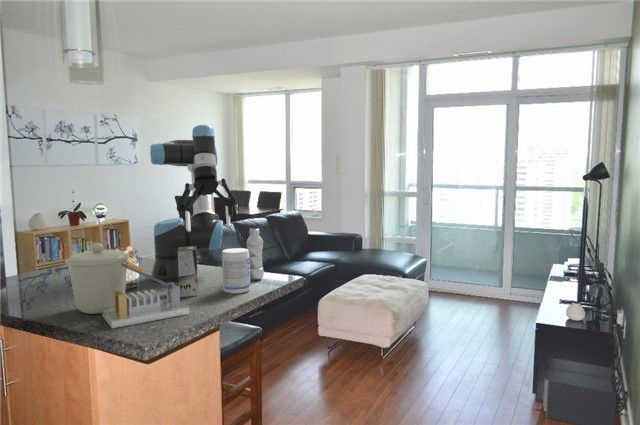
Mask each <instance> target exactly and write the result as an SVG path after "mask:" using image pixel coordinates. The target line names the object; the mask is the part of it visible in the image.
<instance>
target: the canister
mask: <svg viewBox="0 0 640 425" xmlns="http://www.w3.org/2000/svg"><path fill="white" fill-rule="evenodd" d="M90 248H91V250H89V251H84V252H83V251H82V252H80V253H76V254H72V255H71V256H70V257H69V258H67V259H65V261H64V262H65V264H66V265H67V266H68V272H69V277H70V281H71V282H70V283H71V287H72V291H73V297H74V301H75V305H76V308H77V309H78V310H79V312H81V313H83V314H87V315H89V314H90V315H98V314H99V315H100V314H102V309H106V308H112V307H115V297H114V291H118V290H122V294H126V287H127V284H126V283H127V273H128V272H127V270H128V269H127V268H125V267H123V266H122V265H121V264H122V263H124V264H126V262H127V261H128V260H129V258H130V255H129V254H128V253H125V252H124V251H122V250H118V249H117V250H116V249H115V250H114V249H104V248H105V247H104V244H102V243H100V242H96V243H93V244H92V245H91V247H90Z"/></svg>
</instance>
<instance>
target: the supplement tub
mask: <svg viewBox="0 0 640 425" xmlns="http://www.w3.org/2000/svg"><path fill="white" fill-rule="evenodd" d="M221 253H222V254H221V260H222V261H221V266H222V268H221V270H222V284H223V285H222V286H223V287H222V288H223V290H222V291H223V292H225V293H226V294H231V295H233V294H235V295H237V294H243V293H248V292H249V291H250V290H251V279H250V262H249V250H248V249H247V248H243V247H239V248H238V247H236V248H235V247H234V248H226V249H223V250H222V251H221Z"/></svg>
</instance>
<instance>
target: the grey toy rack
mask: <svg viewBox="0 0 640 425" xmlns="http://www.w3.org/2000/svg"><path fill="white" fill-rule="evenodd" d="M167 283H168V284H174V285H175V282H167ZM165 287H166V298H161V297H160V294H159V293H158V291H156V290H154V289H150V292H149V291H147V290H143V293H142V292H140V291H137V293H136V294H137V295H136V294H135V293H134V292H129V293H130V294H127V293H125V294H122V290H118V291H114V297H115V307H112V308H106V309H102V313H101V315H102V318H103V319H104V320H105V321H106V322H107V324H108V325H109V327H110V328H111V329H116V328H122V327H127V326H132V325H133V326H134V325H137V324H143V323H148V322H154V321H159V320H164V319H169V318H174V317H180V316H186V315H190V307H189V306H188V305H186V304H185V303H184V302H182V301H181V297H180V289H179V285H175V286H171V288H172V290H171V289H170V288H169V287H168V286H165ZM160 298H161V299H160Z"/></svg>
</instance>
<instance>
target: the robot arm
mask: <svg viewBox="0 0 640 425" xmlns="http://www.w3.org/2000/svg"><path fill="white" fill-rule="evenodd" d="M191 136H192V139H174V140H170V141H165V142H163V143H152V144H151V145H150V149H149V151H150V163H151V164H152V165H156V166H157V165H158V166H159V165H160V166H166V165H169V166H174V167H187V170H188V171H189V172H190V175H191V183H188V182H186V183H185V184H184V185H185V186H184V190H183V192H182V195H181V198H180V199H179V202H178V204H177V206H176V211H178V212H179V213H182V217H180V218H179V217H178V218H169V219H165V220H160V221H158V222H156V223H155V224H154V226H153V239H154V242H153V243H154V257H155V258H154V262H153V267H152V270H151V274H150V276H152V277H155V278H157V279H159V280H161V281H164V282H166V283H170V282H173V283H175V282H177V283H178V282H179V273H178V248H179V247H185V246H197V251H211V250H212V251H213V250H218V249H221V247H222V240H223V232H224V231H223V228H224V220H221V219H220V217H219V215H218V214H217V213H216V212H215V199H214V197H215V196H217V197H218V198H219V199H221V200H222V201H223V203H225V204H226V205H225V219H226V226H227V227H228V228H230V227H231V226H232V224H231V217H233V215H234V211H233V208H234V206H237V205H238V201H237V199H236V198H235V196H234V194H233V192H231V190H230V188H229V186H228V183H227V180H226V179H225V178H221V180H220V179H219V180H218V176H217V175H218V172H217V170H218V169H217V165H218V154H217V148H216V147H217V146H216V141H215V140H216V139H215V130H214V128H213V127H212V126H210V125H208V124H199V125H195V126H193V128H192V134H191ZM219 185H220V186H221V187H222V188H223V189H224V190H225V192H226V194H227V195H228V197H229V199H230V200H229V199H227V198H226V197H225V196H224V195H223V194H222V192H220V191H219V190H218V188H219V187H218V186H219ZM191 192H192V195H191ZM214 193H215V196H214ZM190 195H191V196H190ZM189 197H190V198H189ZM191 208H192V209H193V210H192V211H193V214H192V215H191V213H190V209H191ZM150 280H151V281H153V282H156V283H158V282H157V281H154V280H152V279H150Z"/></svg>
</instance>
